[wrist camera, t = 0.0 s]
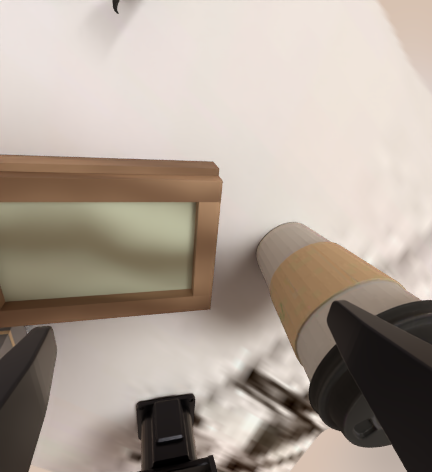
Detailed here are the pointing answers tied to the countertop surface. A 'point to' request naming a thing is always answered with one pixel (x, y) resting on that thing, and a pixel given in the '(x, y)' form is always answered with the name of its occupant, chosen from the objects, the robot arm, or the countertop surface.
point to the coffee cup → (315, 318)
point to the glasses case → (10, 338)
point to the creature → (115, 5)
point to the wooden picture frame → (105, 237)
